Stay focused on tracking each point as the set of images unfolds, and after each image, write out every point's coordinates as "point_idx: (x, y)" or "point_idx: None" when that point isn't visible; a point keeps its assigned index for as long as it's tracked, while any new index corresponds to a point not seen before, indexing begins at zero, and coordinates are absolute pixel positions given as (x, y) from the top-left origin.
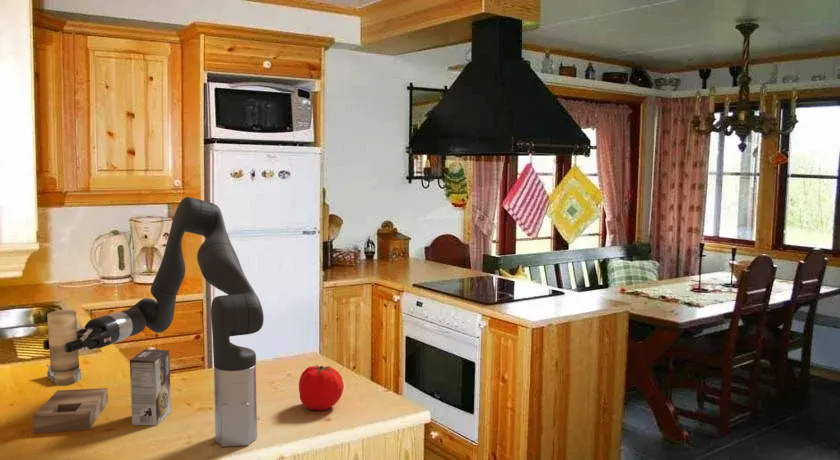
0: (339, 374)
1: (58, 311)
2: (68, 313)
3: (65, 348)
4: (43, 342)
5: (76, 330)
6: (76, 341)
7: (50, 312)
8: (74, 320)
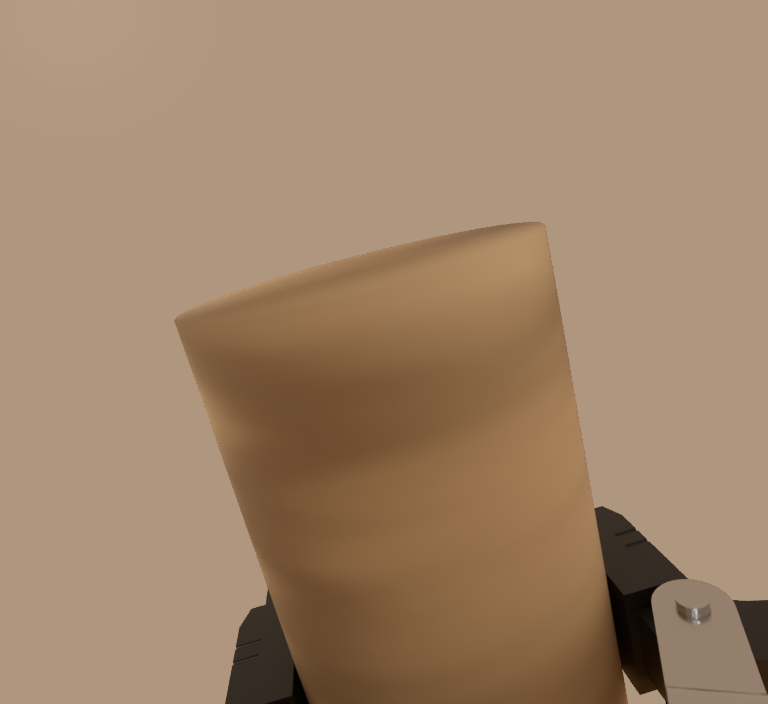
0: None
1: (477, 240)
2: (247, 297)
3: None
4: None
5: (276, 590)
6: (260, 665)
7: (507, 225)
8: (212, 426)
